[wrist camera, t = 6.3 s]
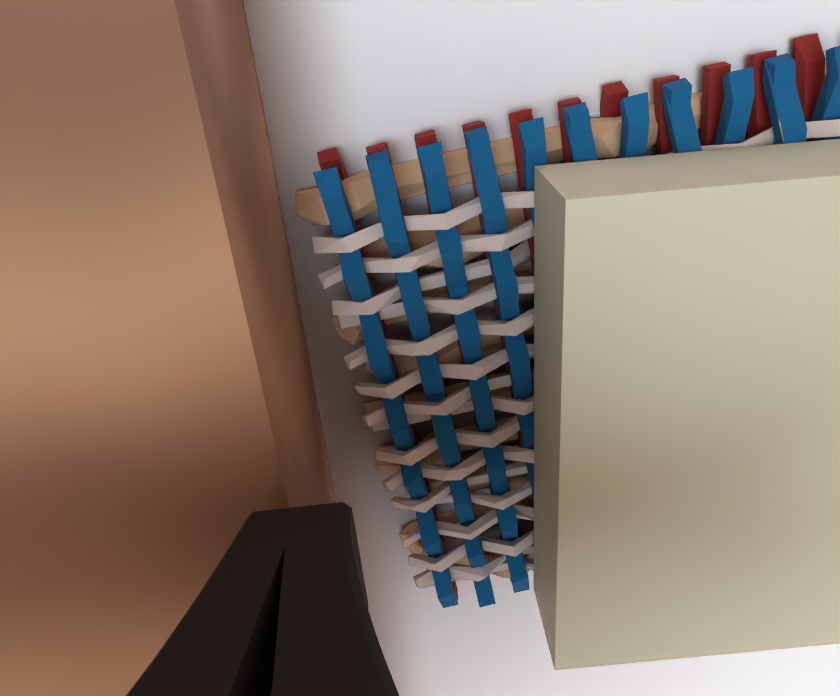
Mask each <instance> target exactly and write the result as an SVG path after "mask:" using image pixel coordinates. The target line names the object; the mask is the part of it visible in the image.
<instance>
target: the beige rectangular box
mask: <svg viewBox="0 0 840 696" xmlns="http://www.w3.org/2000/svg"><path fill="white" fill-rule="evenodd" d="M534 591H535V594H536V598H537V602H538V606H539V610H540V614H541V618H542V622H543V626H544V630H545V634H546V638H547V641H548V645H549V649H550V653H551V657H552V661H553V665H554V669H555V670H560V669H570V668H581V667H592V666H603V665H613V664H624V663H635V662H645V661H656V660H667V659H677V658H688V657H699V656H710V655H720V654H731V653H742V652H752V651H763V650H774V649H785V648H795V647H806V646H817V645H827V644H838V643H840V139H832V140H820V141H809V142H798V143H787V144H775V145H764V146H753V147H741V148H730V149H719V150H708V151H696V152H685V153H674V154H662V155H651V156H640V157H629V158H617V159H606V160H595V161H583V162H572V163H561V164H549V165H538V166H534Z"/></svg>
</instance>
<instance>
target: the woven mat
mask: <svg viewBox="0 0 840 696" xmlns="http://www.w3.org/2000/svg"><path fill="white" fill-rule="evenodd" d="M794 46H795V60H794V59H793V58H792V57H791V56H790V55H788V54H787V53H786V54H783V55H779V56H776V53H777V50H773V51H766V52H761V53H757V54H753V55H749V68H746V69H742V70H738V71H733V72H730V71H731V64H728V63H726V62H720V63H716V64H711V65H707V66H703V84H702V91H701V92H697V93H693V94H691V91H692V85H691V84H690V83H689V82H688V80H687V79H686V78H683V79H679V76H677V75H671V76H667V77H663V78H659V79H654V80H653V87H654V103H653V104H648V92H646V93H642V94H638V95H634V96H630V97H628V92H629V91H628V90H627V88H626V87H625V86H624V84H623V83H622V82H621V81H619V82H615V83H611V84H607V85H603V87H602V95H601V103H600V118H590V115H589V110H588V108H587V106H586V104H585V102H583V103H582V102H581V99H579V98H578V97H576V98H572V99H568V100H564V101H559V102H558V111H559V121H560V125H559V126H555V127H551V128H547V129H544V122H543V117H542V118H538V119H534V120H533V117H532V109H526V110H522V111H518V112H514V113H510V114H509V120H510V127H511V134H512V137H508V138H504V139H500V140H496V141H491V142H490V140H489V136H488V132H487V128H486V126H485V123H484V122H482V121H477V122H473V123H469V124H465V125H462V127H463V133H464V138H465V144H466V148H461V149H457V150H453V151H449V152H444V153H442V148H441V142H438V143H437V141H436V136H435V131H434V130H431V131H427V132H422V133H418V134H415V143H416V148H417V153H418V158H419V159H414V160H410V161H406V162H402V163H397V164H393V165H392V164H391V159H390V155H389V151H388V147H387V143H382V144H378V145H373V146H369V147H366V150H367V154H368V155H366V160H367V165H368V169H369V170H364V171H361V172H359V173H357V174H355V175H353V176H351V177H348V178H347V174H346V171H345V168H344V166H343V164H342V161H341V159H340V156H339V154H338V152H337V149H336V148H332V149H329V150H325V151H321V152H318V153H317V155H318V160H319V164H320V167H321V169H322V171H318V172H314V173H313V174H314V177H315V180H316V183H317V186H318V187H316V188H311V189H306V190H301V191H296V214H297V215H298V216H300V217H301V218H303V219H304V220H306V221H307V222H309V223H310V224H312V225H331V228H332V231H333V234H334V237H312V239H313V248H314V253H338V254H339V255H338V256H335V259H336V265H337V266H336V267H334V268H332V269H329V270H327V271H325V272H323V273H321V274H319V275H318V277H319V279H320V282H321V284H322V286H323V288H324V289H326V288H328V287H330V286H332V285H334V284H336V283H338V282H340V281H341V280H343V279H344V282H345V284H346V286H347V289H348V291H349V293H350V296H351V298H352V300H332V308H333V317H332V321H333V323H334V326H335V329H336V331H337V334H338V336H339V337H341V338H343V339H344V340H346V341H348V342H349V343H351V344H353V345H355V344H356V343H358V342H359V341H361V340H362V339H364V343H365V346H363V347H361V348H359V349H357V350H355V351H353V352H352V353H350V354H348V355H346V356H344V360H345V362H346V364H347V366H348V368H349V370H351V369H353V368H355V367H357V366H359V365H361V364H363V363H365V362H366V372H367V373H371V374H374V376H375V378H376V379H377V381H378V383H379V384H378V383H367V382H359V383H358V384H356V385H355V386H354V387H355V388H356V390H357V391H358V392H359V393H360V394H362V395H369V396H375V397H381V398H382V400H378V401H373V402H369V403H364V406H365V410H366V413H367V414H366V415H364V416H362V418H363V420H364V422H365V425H366V426H371V428H373V432H375V431H380V430H385V429H390V432H391V436H392V438H393V440H394V443H395V445H396V446H393V445H383V446H380V448H379V449H377V450H375V452H376V460H377V461H376V465H375V467H377V468H379V469H380V470H382V471H384V472H385V473H387V474H389V475H390V477H388V478H387V479H385V480H384V481H383V482H382V483H383V485H384V488H385V490H386V491H392V490H393V489H395V488H396V487H398V486H399V485H400V484H402V483H403V482H404V483H403V484H404V488H405V491H406V496H399V497H396V496H395V497H394V498H392V499H391V500H390V502H391V503H392V505H393V506H394V508H400V509H406V510H411V511H416V516H417V520H416V521H414V522H411V523H409V524H408V525H407V526H406V527H405V528H404V529H403V530H402V531H401V533H400V534H399V535H400V538H401V540H402V543H403V545H404V548H407V549H408V550H410V551H411V552H412V554H410V555H409V556H408V558H409V564H410V565H414V566H418V567H422V568H426V569H427V570H426V571H424V572H422V573H420V574H418V575H416V576H414V577H413V579H414V581H415V584H416V586H417V587H419V588H420V587H421V588H425V587H429V586H434V585H435V587H436V591H437V596H438V599H439V601H440V603H441V605H442V606H443V608H445V607H449V606H454V605H458V601H457V599H458V591H457V586H456V582H455V581H457V580H461V579H468V580H473V581H474V585H475V589H476V593H477V597H478V602H479V606H480V607H483V606H487V605H491V604H496V603H495V599H494V595H493V591H492V590H493V589H492V585H491V581H490V577H489V575H490V574H491V573H493V574H495V575H498V576H500V577H503V578H510V580H511V582H512V585H513V590H514V593H516V592H520V591H524V590H529V580H528V574H527V572H528V571H529V570H532V571H534V529H533V530H532V531H530V532H527V533H525V534H524V535H523V536H521V537H519V536H518V522H517V519H526V520H533V521H534V366H530V358H534V308H532V309H531V310H529V311H527V312H525V313H524V314H522V315H520V314H519V296H518V295H519V294H523V293H534V166H538V165H547V164H552V163H556V162H560V161H564V163H572V162H583V161H595V160H598V158H603V160H606V159H617V158H629V157H640V156H646V151H647V149H648V148H650V147H651V146H653V145H654V144H656V155H662V154H674V153H685V152H696V151H708V150H719V149H730V148H741V147H753V146H764V145H775V144H787V143H798V142H809V141H820V140H832V139H840V46H837V47H834V48H831V49H829V50H826V62H825V57H824V54H823V50H822V47H821V44H820V41H819V37H818V34H817V33H815V34H811V35H807V36H802V37H798V38H794ZM795 63H796V69H795ZM747 126H748V139H747V140H745V141H744V139H745V134H746V130H747ZM699 128H701V137H700V140H699V135H698V131H697V129H699ZM514 172H517V174H518V180H519V187H520V192H501V190H500V185H499V180H498V176H501V175H505V174H509V173H514ZM472 182H473V188H474V193H475V199H473V200H471V201H469V202H466V203H464V204H462V205H460V206H458V207H456V208H454V209H453V207H452V203H451V198H450V193H449V188H451V187H455V186H459V185H463V184H467V183H472ZM425 193H426V197H427V202H428V207H429V212H430V214H426V215H412V216H404V214H403V210H402V205H401V201H400V199H404V198H408V197H413V196H417V195H421V194H425ZM376 210H378V212H379V216H380V220H381V222H379V223H377V224H374V225H372V226H370V227H367V228H365V229H362V230H360V229H359V224H358V220H357V219H360V218H362V217H364V216H366V215H368V214H370V213H372V212H374V211H376ZM476 215H478V216H476ZM408 231H409V232H408ZM382 237H385V239H381V240H378V239H380V238H382ZM526 239H527V240H526ZM524 240H525V241H524ZM522 241H524V242H523V243H521V244H520V245H518V246H517V247H516V248H514V249H513V250H512V251H510V252H509V247H511V246H513V245H516V244H518V243H520V242H522ZM484 252H485V254H486V259H485V260H481V261H477V262H473V263H470V264H466V265H464V264H465V263H466V262H468V261H470V260H472V259H473V258H475V257H477V256H478V255H480V254H482V253H484ZM529 256H530V260H531V262H528V263H524V264H521V265H518V264H520V263H521V262H522V261H524V260H525V259H526V258H528V257H529ZM419 267H427V268H441V269H442V271H439V272H435V273H432V274H428V275H424V276H420V277H418V272H417V268H419ZM371 273H395V274H396V278H397V282H398V283H397V284H396V285H394V286H392V287H390V288H388V289H386V290H384V291H382V292H380V293H379V294H377V293H376V290H375V286H374V282H373V278H372V275H371ZM493 300H494V303H495V308H496V314H497V319H498V320H483V319H476V315H475V311H474V308H476V307H478V306H480V305H483V304H485V303H487V302H490V301H493ZM437 313H447V314H452V318H453V323H454V324H453V325H451V326H449V327H447V328H446V329H444V330H442V331H440V332H438V333H436V334H434V335H433V334H432V331H431V327H430V323H429V319H428V315H432V314H437ZM406 320H408V324H409V328H410V331H411V336H412V340H413V341H407V340H395V339H389V338H388V334H387V331H386V327H385V325H389V324H393V323H398V322H402V321H406ZM493 352H494V353H493ZM489 353H492V354H491V355H489V356H487V357H485V358H482V355H484V354H489ZM505 363H506V369H507V372H503V373H499V374H494V375H490V376H486V374H487V373H489V372H491V371H492V370H494V369H496V368H498V367H499V366H501V365H503V364H505ZM446 377H448V378H458V379H466V381H463V382H459V383H454V384H450V385H444V380H443V379H444V378H446ZM417 384H422V385H423V391H418V392H414V393H409V394H405V395H404V394H403V392H405V391H407V390H409V389H410V388H412V387H414V386H415V385H417ZM509 397H512V398H509ZM493 409H495V410H500V411H505V412H510V413H515V416H511V417H506V418H502V419H497V420H495V415H494V410H493ZM469 411H473V414H474V418H475V423H476V424H474V425H469V426H464V427H460V428H455V427H454V423H453V419H452V415H455V414H460V413H465V412H469ZM427 420H432V423H433V428H434V432H432V433H430V434H429V435H427V436H426V437H425V438H424V439H423V440H421V441H420V442H419V440H418V435H417V432H416V429H415V427H414V424H413V423H418V422H422V421H427ZM514 440H519V447H512V446H505V445H501V443H505V442H510V441H514ZM478 448H481V450H480V451H478V452H476V453H475V454H473V455H472V456H470V457H468V458H467V459H465V460H464V461H462V457H461V453H460V452H464V451H469V450H473V449H478ZM504 459H506V460H504ZM509 460H513V461H509ZM514 461H516V462H514ZM443 464H445V466H442V465H443ZM484 464H485V465H484ZM484 488H490V491H491V494H487V493H482V492H476V491H473V490H478V489H484ZM444 503H454V506H455V509H456V510H454V511H449V512H443V513H439V514H437V512H436V508H435V504H444ZM472 503H476V504H480V506H474V507H473V504H472ZM494 524H498V527H499V532H500V536H501V540H500V539H494V538H488V537H482V536H480V534H481V533H482V532H484V531H485V530H487V529H488V528H490V527H491V526H493V525H494ZM443 535H446V536H452V537H457V538H463V540H464V543H463V544H461V545H459V546H458V547H456V548H454V549H452V550H450V551H447V549H446V545H445V542H444V538H443ZM423 551H425V552H426V553H427V554H428V556H424V555H420V554H421V553H422V552H423Z"/></svg>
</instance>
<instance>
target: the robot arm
mask: <svg viewBox="0 0 840 696" xmlns="http://www.w3.org/2000/svg"><path fill="white" fill-rule="evenodd" d="M126 696H399V694H398V692H397V689H396V687H395V684H394V681H393V679H392V676H391V674H390V671H389V669H388V666H387V664H386V661H385V659H384V656H383V653H382V650H381V647H380V645H379V642H378V639H377V636H376V633H375V630H374V627H373V624H372V621H371V618H370V614H369V611H368V600H367V595H366V589H365V583H364V577H363V571H362V565H361V560H360V554H359V548H358V542H357V536H356V530H355V525H354V519H353V513H352V508H351V507H349V506H348V505H346V504H345V503H343V502H338V503H329V504H319V505H310V506H301V507H292V508H283V509H273V510H264V511H255V512H252V513H251V515H250V516H249V517H248V518H247V519H246V521H245V522H244V524H243V525H242V527H241V529H240V530H239V532H238V534H237V535H236V537H235V538H234V540H233V542H232V543H231V545H230V546H229V548H228V550H227V551H226V553H225V554H224V556H223V558H222V559H221V561H220V562H219V564H218V565H217V567H216V569H215V570H214V572H213V573H212V575H211V576H210V578H209V579H208V581H207V582H206V584H205V585H204V587H203V589H202V590H201V592H200V593H199V595H198V596H197V598H196V599H195V601H194V602H193V603H192V605H191V606H190V608H189V609H188V611H187V612H186V614H185V615H184V616H183V618H182V619H181V621H180V622H179V624H178V625H177V627H176V628H175V630H174V631H173V632H172V634H171V635H170V637H169V638H168V640H167V641H166V643H165V644H164V645H163V647H162V648H161V650H160V651H159V652H158V654H157V655H156V657H155V658H154V659H153V661H152V662H151V663H150V665H149V666H148V667H147V669H146V670H145V671H144V672H143V674H142V675H141V676H140V678H139V679H138V680H137V682H136V683H135V684H134V686H133V687H132V688H131V690H130V691H129V692H128V694H127V695H126Z"/></svg>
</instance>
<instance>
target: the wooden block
mask: <svg viewBox="0 0 840 696" xmlns="http://www.w3.org/2000/svg"><path fill="white" fill-rule="evenodd" d="M329 503H336V502H335V497H334V492H333V486H332V481H331V475H330V470H329V465H328V459H327V454H326V448H325V443H324V437H323V432H322V427H321V421H320V416H319V410H318V405H317V400H316V394H315V389H314V383H313V378H312V373H311V367H310V362H309V356H308V351H307V345H306V340H305V335H304V329H303V324H302V318H301V313H300V308H299V302H298V297H297V291H296V286H295V281H294V275H293V270H292V264H291V259H290V253H289V248H288V243H287V237H286V232H285V226H284V221H283V216H282V210H281V205H280V199H279V194H278V189H277V183H276V178H275V172H274V167H273V161H272V156H271V151H270V145H269V140H268V134H267V129H266V124H265V118H264V113H263V107H262V102H261V97H260V91H259V86H258V80H257V75H256V70H255V64H254V59H253V53H252V48H251V42H250V37H249V32H248V26H247V21H246V15H245V10H244V5H243V0H0V696H126V695H127V694H128V692H129V691H130V690H131V688H132V687H133V686H134V684H135V683H136V682H137V680H138V679H139V678H140V676H141V675H142V674H143V672H144V671H145V670H146V669H147V667H148V666H149V665H150V663H151V662H152V661H153V659H154V658H155V657H156V655H157V654H158V652H159V651H160V650H161V648H162V647H163V645H164V644H165V643H166V641H167V640H168V638H169V637H170V635H171V634H172V632H173V631H174V630H175V628H176V627H177V625H178V624H179V622H180V621H181V619H182V618H183V616H184V615H185V614H186V612H187V611H188V609H189V608H190V606H191V605H192V603H193V602H194V601H195V599H196V598H197V596H198V595H199V593H200V592H201V590H202V589H203V587H204V585H205V584H206V582H207V581H208V579H209V578H210V576H211V575H212V573H213V572H214V570H215V569H216V567H217V565H218V564H219V562H220V561H221V559H222V558H223V556H224V554H225V553H226V551H227V550H228V548H229V546H230V545H231V543H232V542H233V540H234V538H235V537H236V535H237V534H238V532H239V530H240V529H241V527H242V525H243V524H244V522H245V521H246V519H247V518H248V517H249V516H250V515H251V513H252V512H255V511H264V510H273V509H283V508H292V507H301V506H310V505H319V504H329Z"/></svg>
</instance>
